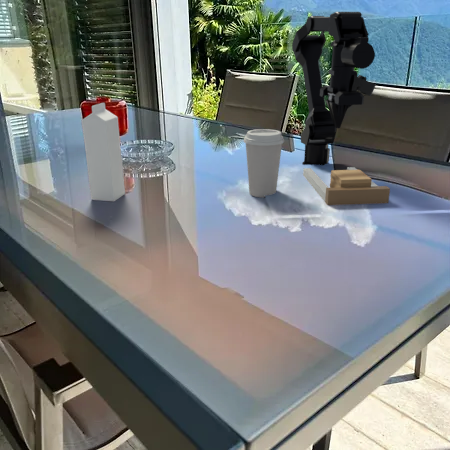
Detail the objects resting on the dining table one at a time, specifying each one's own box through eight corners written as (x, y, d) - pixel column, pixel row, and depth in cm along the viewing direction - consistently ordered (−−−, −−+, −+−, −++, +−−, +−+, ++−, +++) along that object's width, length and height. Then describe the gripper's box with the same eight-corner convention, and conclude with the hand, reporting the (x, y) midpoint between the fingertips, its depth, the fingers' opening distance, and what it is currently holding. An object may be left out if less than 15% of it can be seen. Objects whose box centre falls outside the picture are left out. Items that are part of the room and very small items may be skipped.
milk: (91, 200, 110) (78, 105, 101) (103, 192, 115) (92, 102, 107) (114, 201, 108) (103, 106, 100) (126, 193, 114) (116, 102, 105)
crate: (329, 190, 113) (331, 170, 111) (357, 189, 113) (359, 169, 111) (339, 200, 105) (341, 180, 104) (369, 199, 106) (371, 179, 104)
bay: (303, 177, 125) (303, 163, 124) (353, 175, 126) (354, 161, 125) (327, 207, 103) (328, 190, 102) (387, 205, 104) (390, 188, 103)
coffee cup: (285, 189, 116) (288, 129, 110) (277, 201, 107) (279, 137, 102) (249, 186, 119) (250, 127, 113) (238, 197, 110) (238, 135, 105)
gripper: (388, 68, 108) (380, 134, 114) (361, 63, 125) (355, 121, 131) (342, 68, 107) (336, 135, 113) (321, 64, 125) (317, 122, 131)
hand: (337, 128), depth 122 cm, fingers closed
